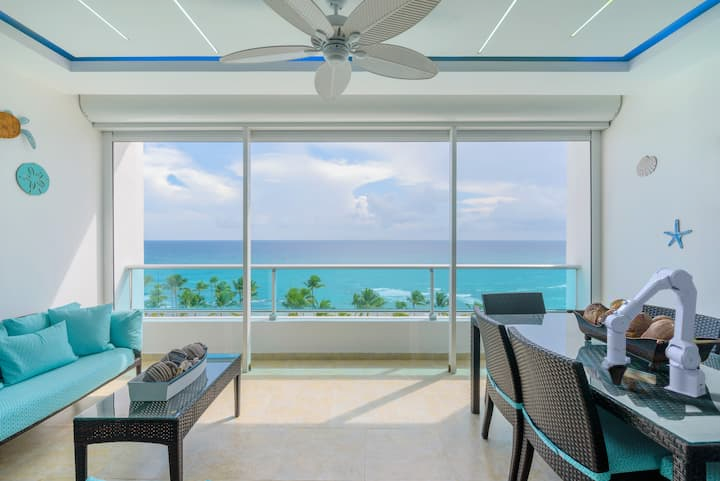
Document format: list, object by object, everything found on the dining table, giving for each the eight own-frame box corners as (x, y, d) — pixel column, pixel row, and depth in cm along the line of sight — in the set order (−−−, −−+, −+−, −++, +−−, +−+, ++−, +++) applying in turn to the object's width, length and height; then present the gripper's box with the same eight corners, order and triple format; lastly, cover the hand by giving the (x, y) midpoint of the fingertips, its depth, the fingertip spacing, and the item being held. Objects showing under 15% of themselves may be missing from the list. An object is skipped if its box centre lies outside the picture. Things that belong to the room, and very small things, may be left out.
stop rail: (656, 383, 148) (656, 375, 148) (654, 384, 148) (654, 375, 148) (622, 374, 159) (622, 366, 159) (620, 374, 159) (620, 366, 159)
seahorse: (632, 392, 141) (632, 387, 141) (618, 378, 155) (618, 373, 155) (650, 395, 139) (650, 390, 139) (634, 381, 153) (634, 376, 153)
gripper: (616, 342, 152) (616, 377, 152) (593, 347, 145) (593, 384, 145) (636, 347, 146) (636, 383, 146) (613, 352, 139) (613, 391, 139)
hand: (616, 384), depth 145 cm, fingers closed
